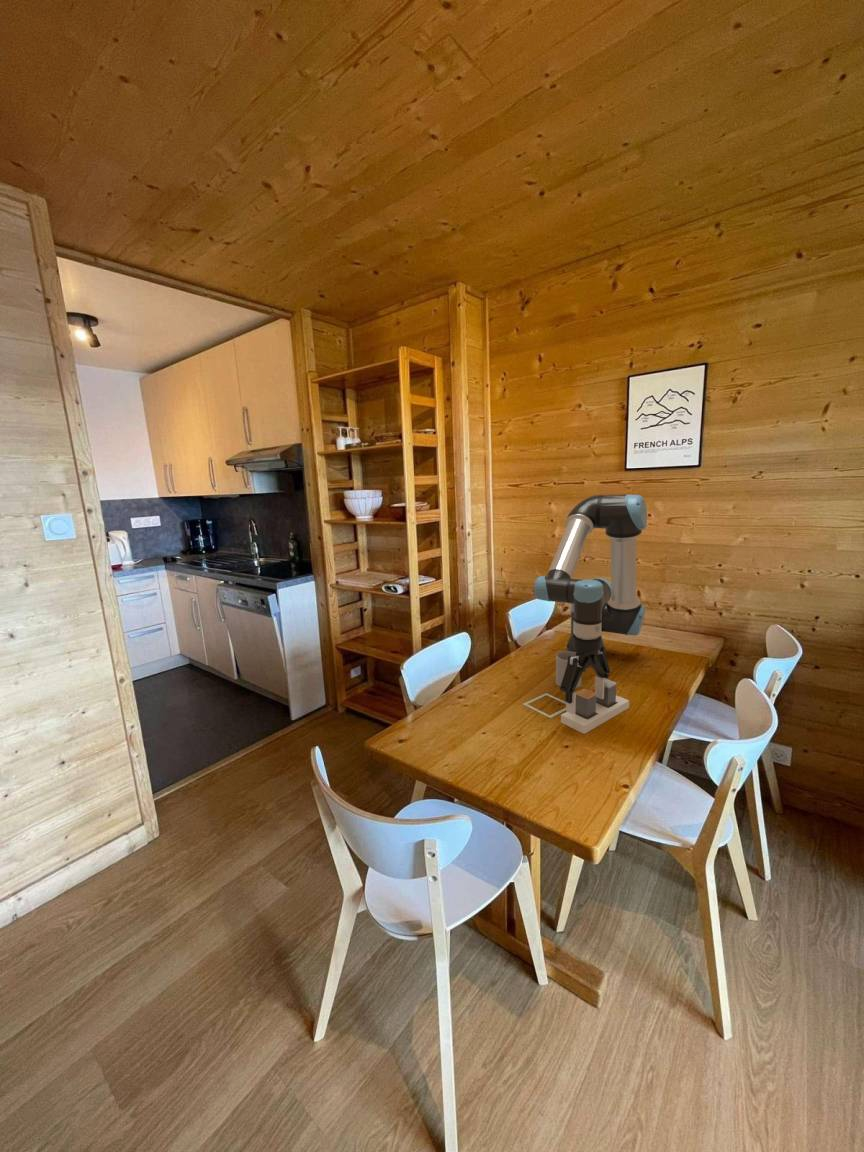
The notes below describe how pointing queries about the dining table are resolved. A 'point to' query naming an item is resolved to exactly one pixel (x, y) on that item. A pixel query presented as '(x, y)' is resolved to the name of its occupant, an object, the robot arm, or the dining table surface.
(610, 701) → the grey square peg
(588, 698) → the plug
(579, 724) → the strip
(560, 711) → the tray
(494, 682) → the dining table surface
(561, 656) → the mug
